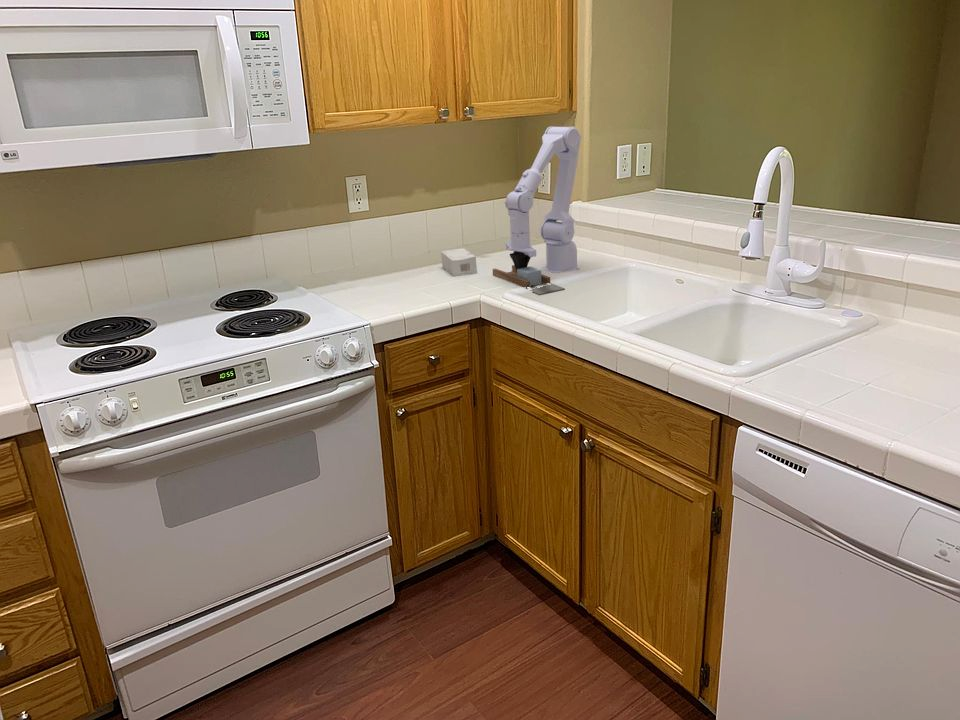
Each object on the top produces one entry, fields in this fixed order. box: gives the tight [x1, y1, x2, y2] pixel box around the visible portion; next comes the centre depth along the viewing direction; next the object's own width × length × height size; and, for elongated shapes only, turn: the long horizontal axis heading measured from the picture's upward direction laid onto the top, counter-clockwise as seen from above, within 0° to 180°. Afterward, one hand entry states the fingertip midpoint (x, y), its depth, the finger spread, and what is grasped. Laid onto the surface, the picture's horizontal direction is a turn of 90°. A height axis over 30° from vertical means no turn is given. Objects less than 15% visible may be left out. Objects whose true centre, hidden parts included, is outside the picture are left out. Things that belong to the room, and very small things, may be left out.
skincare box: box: [440, 247, 478, 277], centre depth 239 cm, size 8×6×15 cm
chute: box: [492, 264, 566, 296], centre depth 221 cm, size 9×27×2 cm, turn 29°
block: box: [516, 266, 542, 286], centre depth 220 cm, size 5×6×4 cm
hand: (521, 275), depth 224 cm, fingers closed
